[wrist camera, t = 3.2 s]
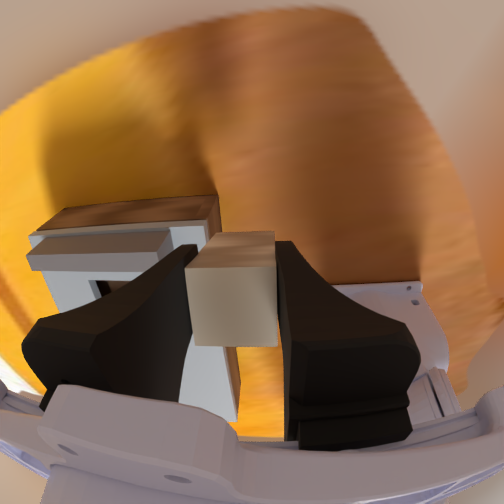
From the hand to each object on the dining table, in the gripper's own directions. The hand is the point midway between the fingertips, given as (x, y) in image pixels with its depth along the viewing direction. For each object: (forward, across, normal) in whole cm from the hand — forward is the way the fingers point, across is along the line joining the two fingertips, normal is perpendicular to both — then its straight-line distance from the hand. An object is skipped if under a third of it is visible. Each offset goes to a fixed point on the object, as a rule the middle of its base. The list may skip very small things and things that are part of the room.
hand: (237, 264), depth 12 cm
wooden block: (+4, 0, +2) cm, 4 cm away
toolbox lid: (+6, +10, +11) cm, 16 cm away
